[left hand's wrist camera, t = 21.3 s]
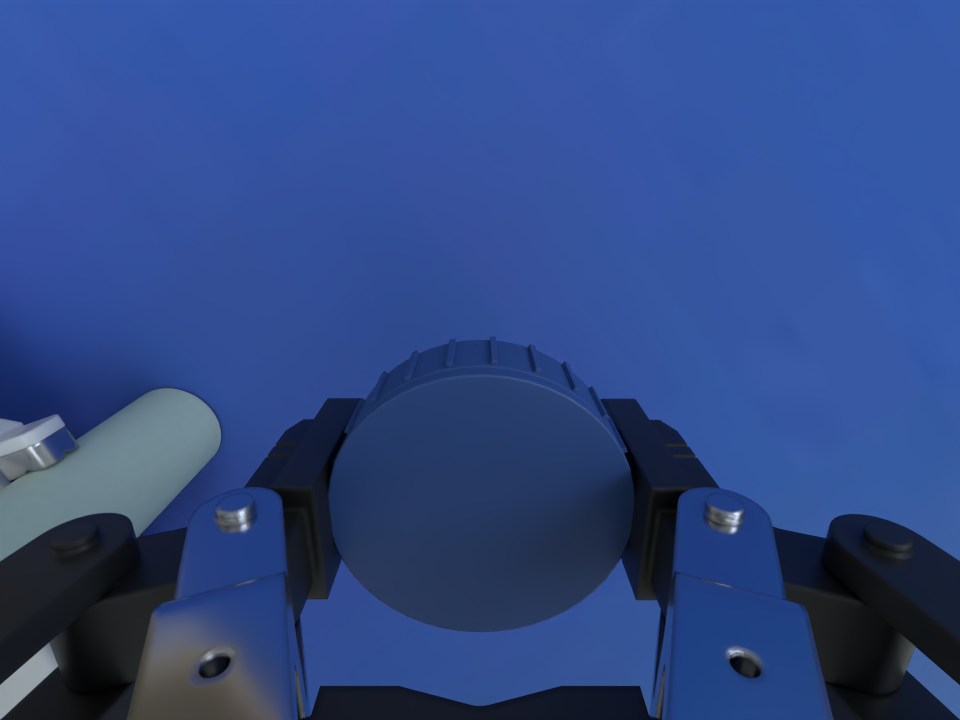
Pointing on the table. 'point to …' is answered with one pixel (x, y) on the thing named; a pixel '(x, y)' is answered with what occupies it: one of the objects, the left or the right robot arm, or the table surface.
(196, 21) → the table surface
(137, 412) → the jar
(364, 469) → the lid
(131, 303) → the table surface
